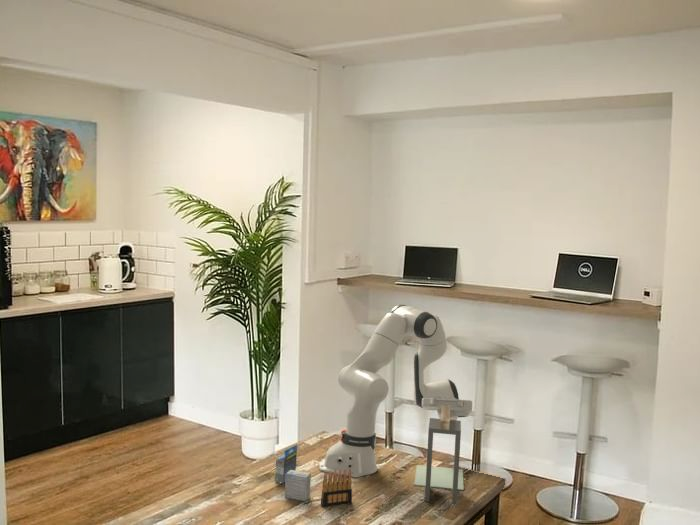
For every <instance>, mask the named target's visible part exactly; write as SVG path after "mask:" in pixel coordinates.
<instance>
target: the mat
mask: <svg viewBox="0 0 700 525" xmlns="http://www.w3.org/2000/svg"><path fill="white" fill-rule="evenodd" d="M415 469H416V470H415V476H414V482H413V487H414V486H415V487H424V488H425V487H426V469H427V465H421V464H416V468H415ZM453 471H454V467H453V468H451V467H443V466H442V467H440V466H432V465H431V484H430V488H434V489H435V488H436V489H443V488H444V489H445V490H452V489H453ZM464 488H465V487H464V469H463V468H462V469H460V468H459V474H458V491H463V490H464Z"/></svg>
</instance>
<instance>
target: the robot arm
mask: <svg viewBox="0 0 700 525" xmlns="http://www.w3.org/2000/svg"><path fill="white" fill-rule="evenodd" d="M406 334H407V335H408V336H413V337H415V338H418V342H419V348H418V350H417V351H416V352H415V353H414V356H413V371H414V372H413V373H414V374H413V375H414V376H413V379H414V380H413V381H414V384H413V385H414V388H413V400H414V403H415V404H416V406H418V407H420V408H422V409H423V410H426V411H437V415H438V419H441V410H442V405H449V406H450V420H458V418H467V417H468V418H469V415H470V414H471V413H472V411H473V401H472V400H471V399H470V400H469V399H459V392H458V389H457V386H456V383H455V382H453V381H452V380H450V379H449V378H448V379H442V380H438V381H433V382H428V383H425V382H424V381H425V374H424V373H425V369H427V367H429V366H430V365H431V364H433V363H434V362H437V361H438V360H440V359H441V358H442V357H443V356H444V355H445V353H446V351H447V348H448V346H447V344H448V343H447V338H446V337H447V336H446V332H445V330H444V326H443V324H442V322H441V319H440V318H439V316H438V315H437V314H434V313H430V312H428V311H424V310H422V309H419V308H418V307H416V306H415V307H414V306H411V305H410V306H409V305H406V304H397V305H395V306H394V307H392V309H391V310H390V311H389V312H388V313H386V315H384V317H383V318H382V319H381V320H380V322H379V323H378V325H377V326H376V328H375V330H374V332H372V335H371V337H370V339H369V340H368V342H367V344H366V346H365V348H364V349H363V350H362V352H361V353H360V354H359V356H358V357H356V359H354V361H352V363H350V364H349V365H348V364H347V365H346V366H344V367H343V368H341V370H340V371H339V374H338V378H337V380H338V384H339V386H340V388H342V389H343V390H344V391H345V392H346V393H348V394H350V395H352V396H354V402H353V405H352V407H351V408H350V409H349V410H348V411H347V415H346V429H345V428H343V429H341V433H340V440H339V441H338V442H336V443H335V444H334V445H332V446H330V447H329V448H328V449H327V452H326V454H325V457H323V459H321V460H320V462H319V464H318V465H319V466H318V469H319V470H320V472H324V473H325V471H326V473H327V474H329V473H330V471H331V472H332V474H334V472H335V470H336V472H337V475H339V471H340V470H341V472H342V476H343V473H344V470H345V469H346V474H347V477H348V471H349V469H350V470H351V478H360V477H362V476H363V477H364V476H369V475H372V474H375V473H376V472H377V471H378V466H377V461H376V452H375V449H376V445H377V442H376V441H377V437H376V436H377V434H376V418H377V412H378V409H379V406H380V404H381V403H383V401H384V400H385V399H387V397H388V394H389V391H390V390H389V388H390V387H389V383H388V382H387V380H386V379H385V378H384V377H382V376H381V375H380V374H378V372H379V371H380V370H381V369H382V368H384V367H386V366H388V365H389V364H390V363H391V361H392V359H393V357H394V355H395V354H396V352H397V349H398V348H399V346H400V344H401V342H402V340H403V337H404V336H405V335H406Z"/></svg>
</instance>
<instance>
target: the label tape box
mask: <svg viewBox="0 0 700 525" xmlns="http://www.w3.org/2000/svg"><path fill="white" fill-rule="evenodd" d="M297 451H298V444H295V445H292V446H290V447H288V448H287V449H285V450H283V452H284V454H283V455H282V456H280V457H279V458H277V459H276V460H275V470H274V472H275V473H274V481H275V482H276V481H277V482H276V483H279V482H281V483H280V484H285V483H284V482H285V474H286V473H287V472H289V471H290V470H295V471H297V458H298V457H297V454H298V452H297Z"/></svg>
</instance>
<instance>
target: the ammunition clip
mask: <svg viewBox="0 0 700 525" xmlns="http://www.w3.org/2000/svg"><path fill="white" fill-rule="evenodd" d="M352 482H353V481H352V477H351V470H350V469H349V471H348V476H347V474H346V469H345V470H344V473H343V475H342V472H341V470H340V471H339V474H337V472H336V470H335V472H334V473H332V472H331V471H330V473H328V472H326V471H325V472H324V474H323V482H322V490H321V498H320V506H321V507H322V508H329V507H336V506H343V505H351V504H352V503H353V498H352V497H353V494H352V493H353V489H352V486H353V485H352Z"/></svg>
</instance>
